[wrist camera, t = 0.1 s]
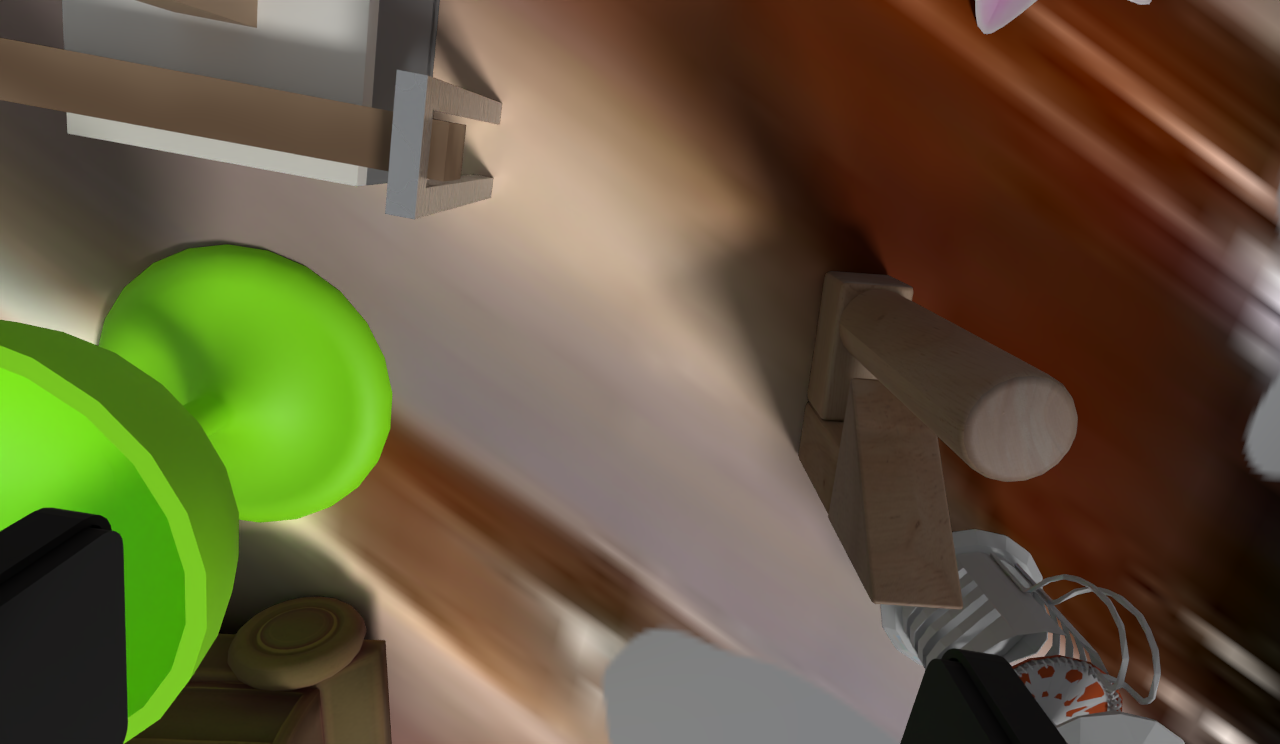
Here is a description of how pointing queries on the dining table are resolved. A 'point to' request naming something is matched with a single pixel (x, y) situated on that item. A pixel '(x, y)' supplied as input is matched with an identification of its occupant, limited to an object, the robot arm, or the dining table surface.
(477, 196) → the toolbox
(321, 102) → the tan bar
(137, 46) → the lid
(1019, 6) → the lily
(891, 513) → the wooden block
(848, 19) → the dining table surface
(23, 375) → the wineglass
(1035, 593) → the french press
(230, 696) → the wooden toy train
